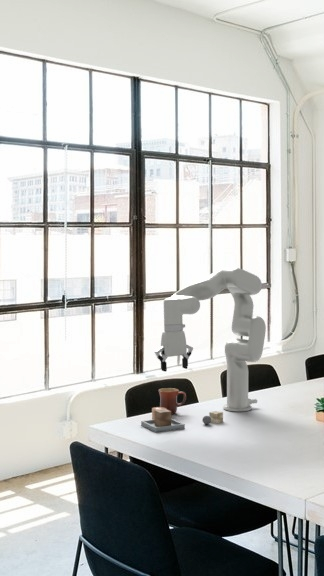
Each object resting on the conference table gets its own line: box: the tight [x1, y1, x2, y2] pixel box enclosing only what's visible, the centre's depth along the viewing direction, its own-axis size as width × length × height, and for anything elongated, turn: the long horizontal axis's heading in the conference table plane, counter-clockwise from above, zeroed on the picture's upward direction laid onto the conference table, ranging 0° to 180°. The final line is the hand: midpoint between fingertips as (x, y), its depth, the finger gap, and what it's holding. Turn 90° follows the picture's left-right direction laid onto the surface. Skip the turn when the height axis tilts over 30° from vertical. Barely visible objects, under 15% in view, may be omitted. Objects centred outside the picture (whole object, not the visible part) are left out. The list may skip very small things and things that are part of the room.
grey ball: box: [202, 415, 212, 426], centre depth 294 cm, size 4×4×4 cm
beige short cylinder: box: [151, 406, 166, 420], centre depth 301 cm, size 6×6×5 cm
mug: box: [158, 387, 187, 415], centre depth 314 cm, size 12×9×10 cm
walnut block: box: [155, 409, 172, 427], centre depth 290 cm, size 5×5×6 cm
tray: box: [140, 417, 185, 433], centre depth 290 cm, size 13×13×2 cm
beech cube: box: [208, 410, 224, 424], centre depth 299 cm, size 4×4×4 cm
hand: (174, 369), depth 294 cm, fingers open, 9 cm apart
